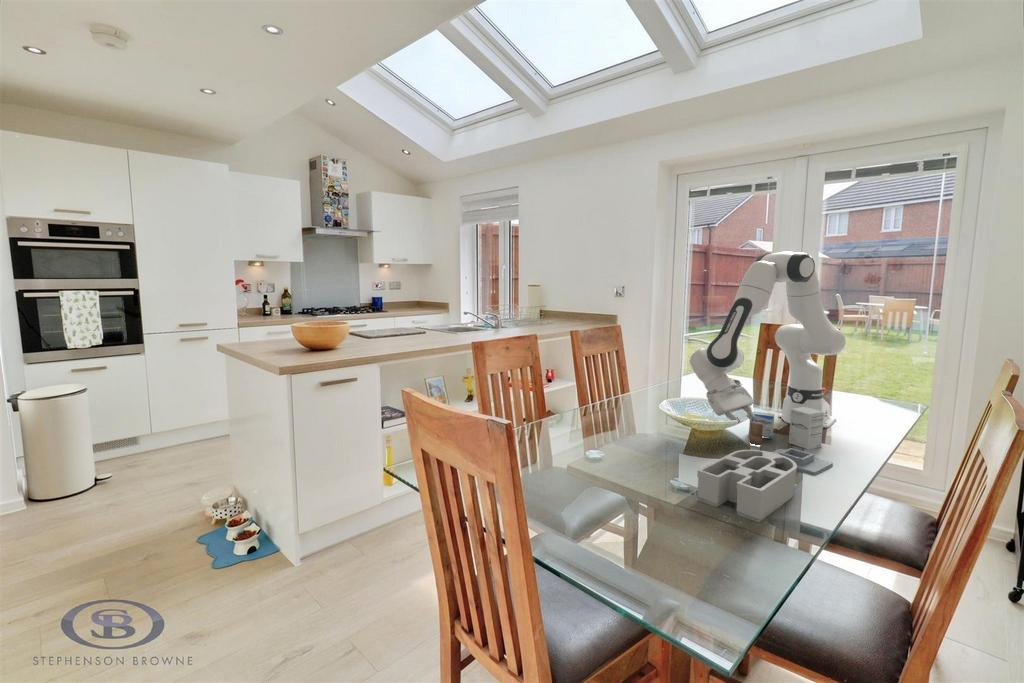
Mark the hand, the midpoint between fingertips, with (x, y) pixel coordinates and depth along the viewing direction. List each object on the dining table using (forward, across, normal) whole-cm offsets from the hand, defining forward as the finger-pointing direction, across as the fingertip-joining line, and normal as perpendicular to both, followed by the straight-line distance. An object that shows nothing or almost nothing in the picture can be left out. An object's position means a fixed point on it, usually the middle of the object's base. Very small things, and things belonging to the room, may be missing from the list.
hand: (745, 420), depth 173 cm
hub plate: (+20, -5, -8) cm, 22 cm away
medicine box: (+6, +11, +6) cm, 14 cm away
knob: (+8, 0, +3) cm, 9 cm away
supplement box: (+16, +14, -4) cm, 22 cm away
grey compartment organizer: (+23, -38, -11) cm, 46 cm away
